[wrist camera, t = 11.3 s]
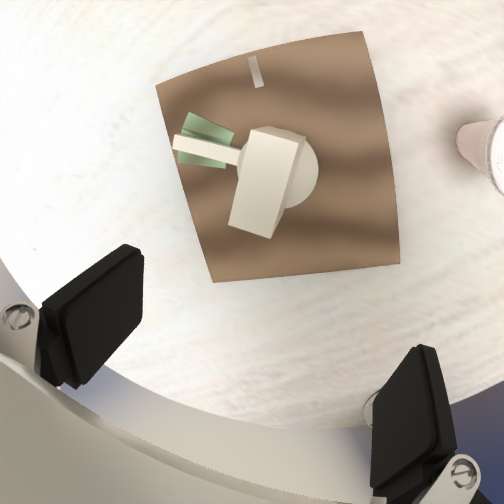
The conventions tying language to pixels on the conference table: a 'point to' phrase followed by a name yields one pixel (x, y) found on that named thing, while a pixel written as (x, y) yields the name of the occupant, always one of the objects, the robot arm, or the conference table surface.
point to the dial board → (317, 135)
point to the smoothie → (484, 148)
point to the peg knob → (262, 174)
